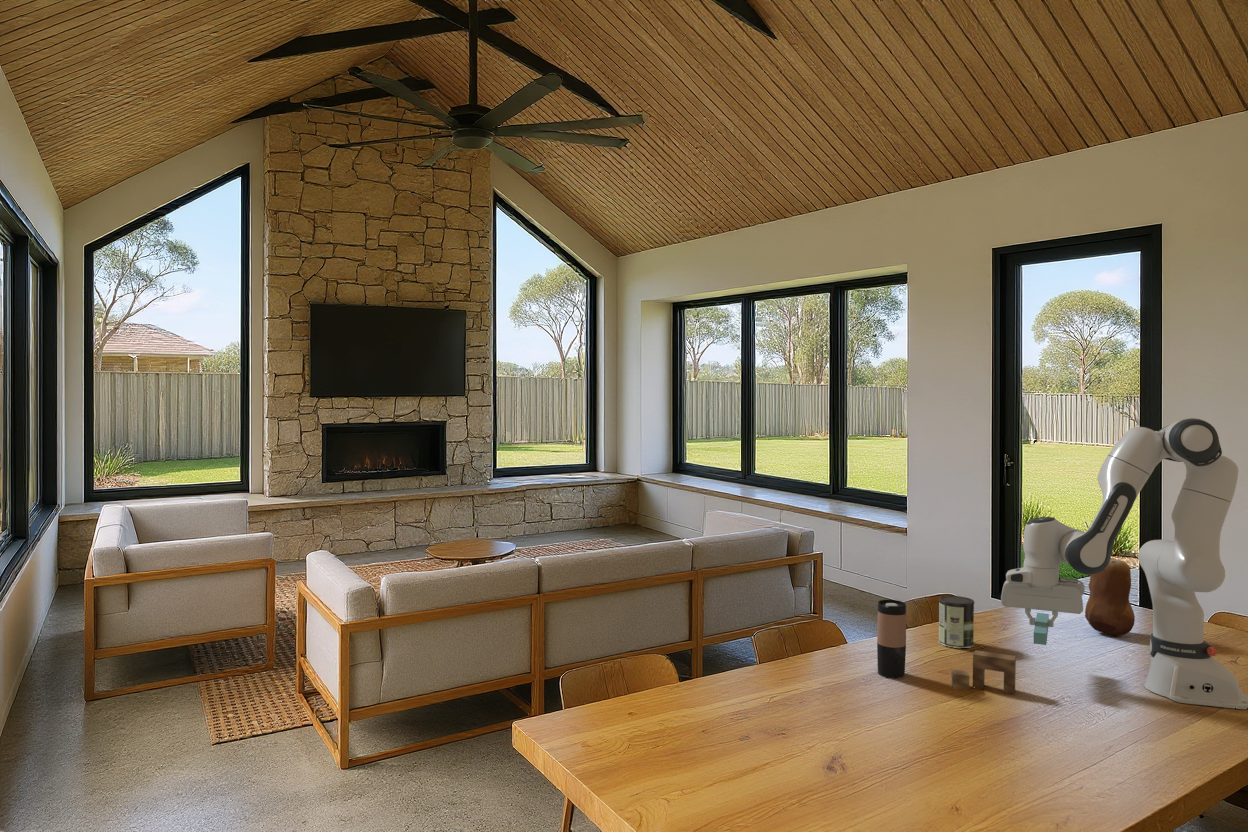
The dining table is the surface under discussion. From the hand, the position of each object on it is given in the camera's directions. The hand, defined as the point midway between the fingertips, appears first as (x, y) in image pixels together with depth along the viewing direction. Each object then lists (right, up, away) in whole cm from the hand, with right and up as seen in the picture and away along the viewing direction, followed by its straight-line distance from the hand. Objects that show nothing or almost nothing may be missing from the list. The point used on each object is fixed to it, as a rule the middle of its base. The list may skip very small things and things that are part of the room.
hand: (1041, 625), depth 224 cm
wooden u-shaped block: (-17, -14, -9) cm, 24 cm away
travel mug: (-41, -14, +2) cm, 44 cm away
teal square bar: (0, -2, 0) cm, 2 cm away
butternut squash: (+42, -13, +39) cm, 59 cm away
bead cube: (-26, -14, -8) cm, 31 cm away
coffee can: (-12, -14, +29) cm, 34 cm away
